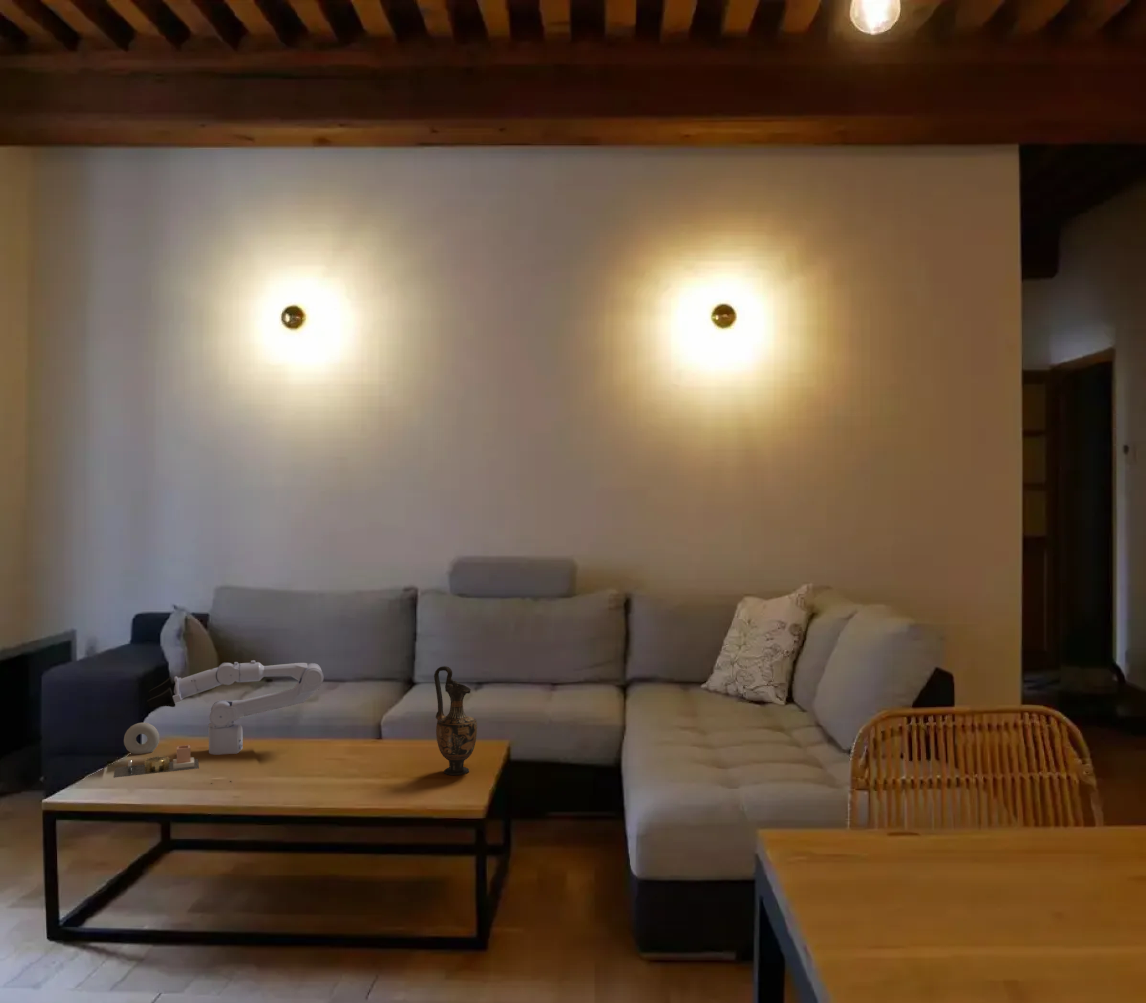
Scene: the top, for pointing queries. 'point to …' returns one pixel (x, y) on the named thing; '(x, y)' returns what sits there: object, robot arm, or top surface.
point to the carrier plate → (139, 772)
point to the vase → (454, 725)
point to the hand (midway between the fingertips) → (149, 699)
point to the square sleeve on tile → (183, 757)
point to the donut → (146, 730)
